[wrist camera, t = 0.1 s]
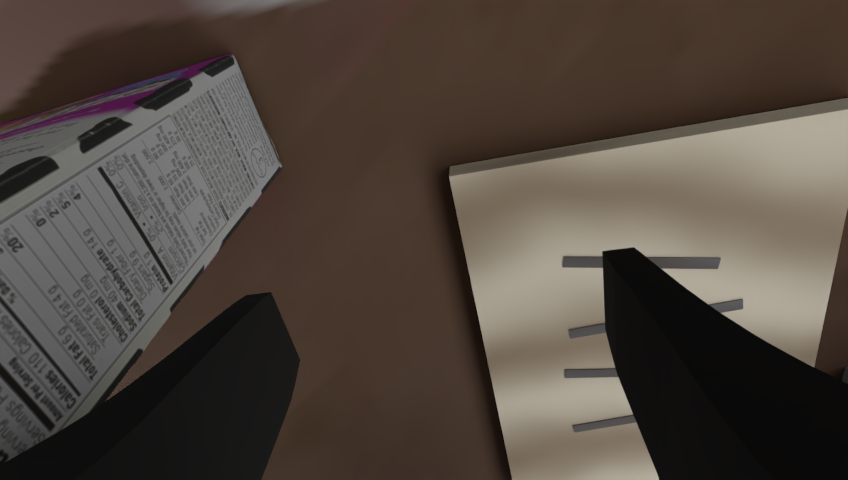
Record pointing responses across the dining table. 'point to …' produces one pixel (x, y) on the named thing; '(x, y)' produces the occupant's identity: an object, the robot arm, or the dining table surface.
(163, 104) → the candy bar box
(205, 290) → the dining table surface
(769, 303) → the marked board
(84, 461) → the robot arm
